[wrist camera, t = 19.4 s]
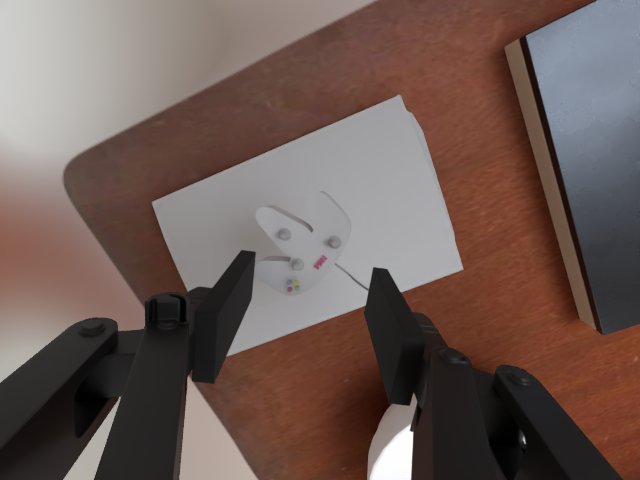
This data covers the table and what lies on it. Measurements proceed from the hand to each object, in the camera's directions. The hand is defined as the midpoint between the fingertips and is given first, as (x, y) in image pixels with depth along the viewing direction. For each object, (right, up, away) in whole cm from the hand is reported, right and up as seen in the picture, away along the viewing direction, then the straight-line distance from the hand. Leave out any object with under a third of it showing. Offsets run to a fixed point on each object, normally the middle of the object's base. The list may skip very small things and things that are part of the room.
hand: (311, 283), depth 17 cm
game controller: (+2, 0, +2) cm, 3 cm away
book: (0, +3, +11) cm, 11 cm away
